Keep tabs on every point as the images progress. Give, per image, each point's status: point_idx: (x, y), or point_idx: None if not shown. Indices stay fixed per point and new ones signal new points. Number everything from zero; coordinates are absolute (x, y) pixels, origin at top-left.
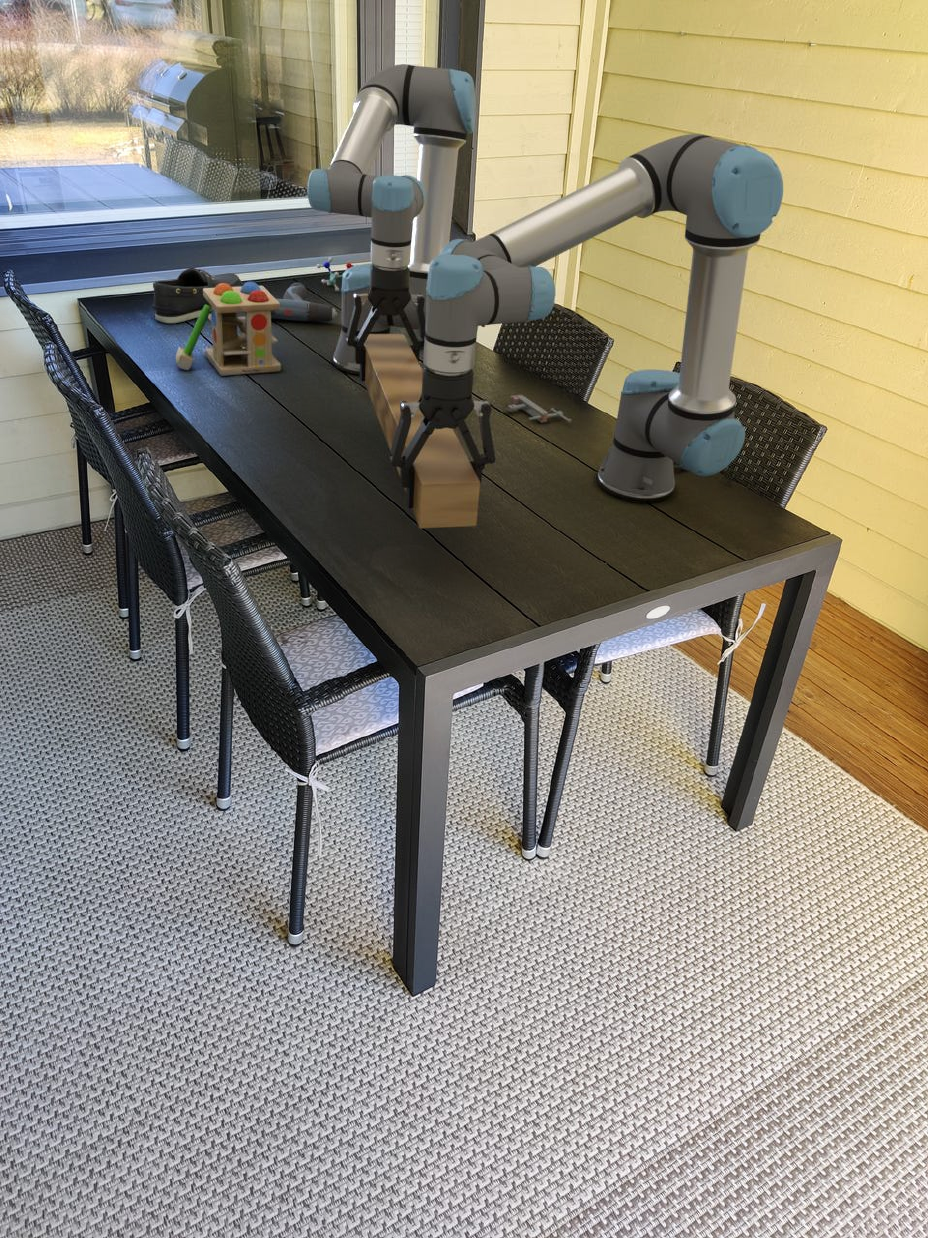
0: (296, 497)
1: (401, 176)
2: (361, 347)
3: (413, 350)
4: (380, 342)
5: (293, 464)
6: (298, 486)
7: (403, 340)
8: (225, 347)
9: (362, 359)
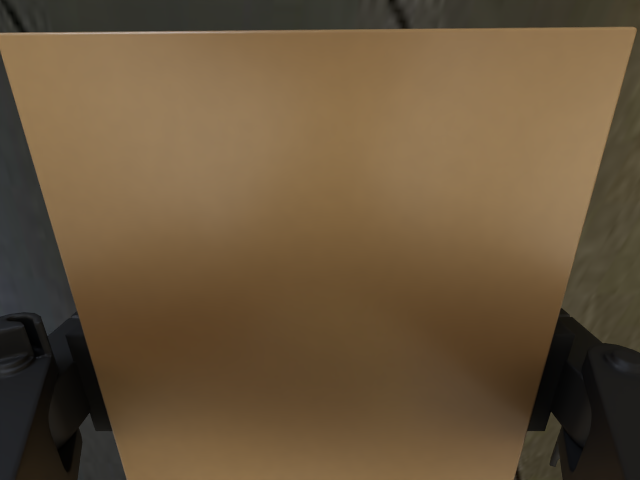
0: (113, 467)
1: None
2: (78, 442)
3: (532, 424)
4: (259, 333)
5: None
6: (111, 434)
7: (524, 284)
8: None
9: None
